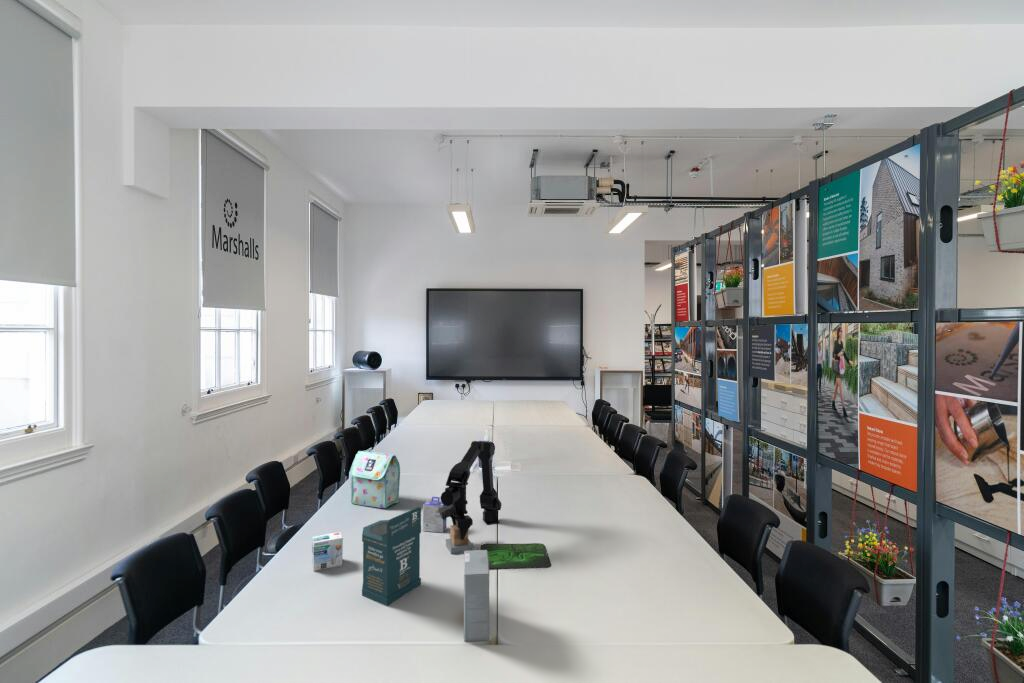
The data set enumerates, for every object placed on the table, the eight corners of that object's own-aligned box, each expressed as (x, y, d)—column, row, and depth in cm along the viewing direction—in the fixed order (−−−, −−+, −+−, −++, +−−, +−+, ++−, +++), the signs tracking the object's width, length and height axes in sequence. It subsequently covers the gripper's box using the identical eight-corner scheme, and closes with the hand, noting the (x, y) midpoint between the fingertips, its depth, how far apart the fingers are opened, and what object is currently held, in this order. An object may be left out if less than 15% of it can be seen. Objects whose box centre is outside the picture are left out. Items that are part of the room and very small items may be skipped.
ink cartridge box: (447, 528, 223) (447, 496, 223) (443, 533, 218) (443, 500, 217) (426, 526, 225) (426, 495, 224) (422, 531, 219) (422, 499, 219)
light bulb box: (313, 571, 182) (313, 542, 181) (311, 564, 188) (311, 536, 187) (343, 565, 187) (343, 537, 186) (340, 558, 193) (340, 531, 192)
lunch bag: (346, 505, 252) (346, 453, 251) (367, 495, 267) (367, 446, 266) (383, 511, 243) (383, 457, 242) (402, 501, 258) (403, 450, 258)
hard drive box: (464, 611, 156) (464, 549, 156) (487, 610, 157) (488, 549, 157) (463, 642, 141) (463, 573, 140) (489, 641, 141) (490, 572, 141)
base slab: (466, 543, 208) (466, 536, 208) (472, 551, 200) (472, 544, 200) (445, 546, 205) (445, 539, 205) (451, 555, 197) (451, 548, 197)
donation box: (386, 606, 159) (387, 520, 159) (353, 592, 168) (353, 510, 167) (420, 584, 173) (421, 506, 172) (388, 572, 181) (388, 497, 181)
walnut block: (463, 537, 207) (464, 523, 207) (468, 543, 201) (468, 529, 201) (450, 539, 204) (450, 525, 204) (454, 545, 199) (454, 531, 199)
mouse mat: (544, 544, 208) (544, 541, 208) (553, 568, 186) (553, 566, 186) (480, 545, 206) (480, 543, 206) (481, 570, 184) (481, 568, 184)
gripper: (434, 493, 208) (434, 529, 208) (445, 508, 191) (445, 547, 191) (460, 490, 212) (459, 526, 212) (473, 504, 195) (473, 543, 195)
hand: (459, 535), depth 203 cm, fingers open, 9 cm apart
